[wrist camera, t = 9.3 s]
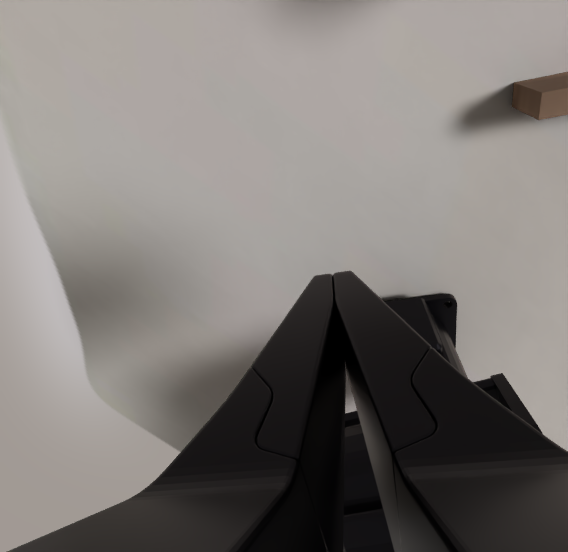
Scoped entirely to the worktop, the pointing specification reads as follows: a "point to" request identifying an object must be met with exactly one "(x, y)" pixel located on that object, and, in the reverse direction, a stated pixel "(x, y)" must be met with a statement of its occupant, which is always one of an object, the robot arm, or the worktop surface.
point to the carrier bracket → (542, 96)
